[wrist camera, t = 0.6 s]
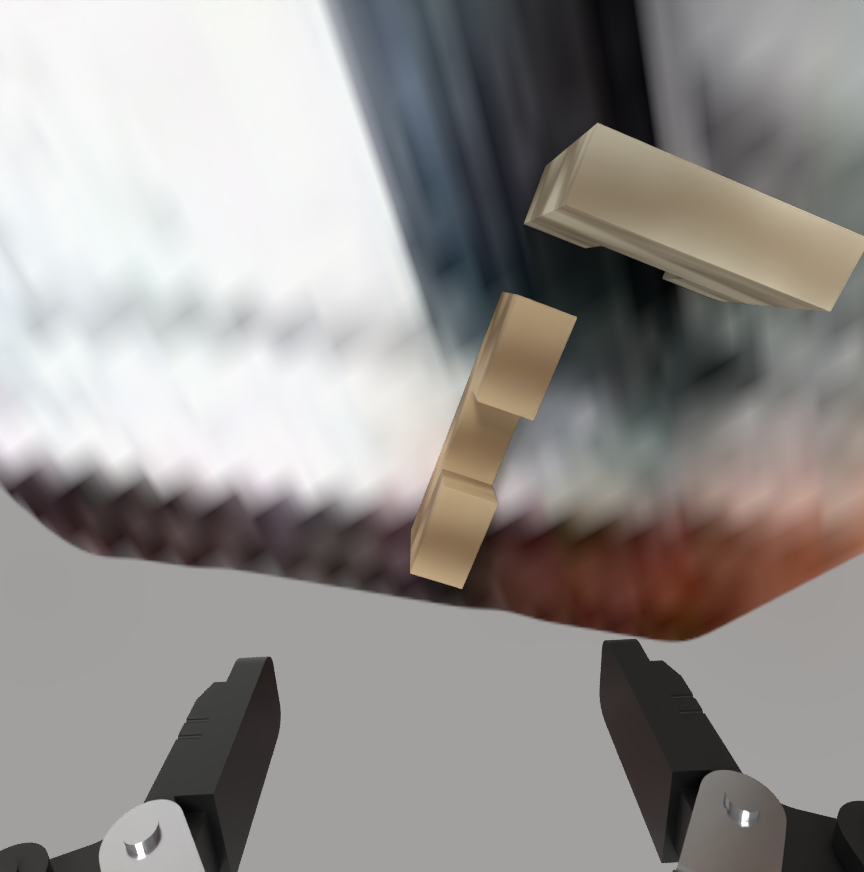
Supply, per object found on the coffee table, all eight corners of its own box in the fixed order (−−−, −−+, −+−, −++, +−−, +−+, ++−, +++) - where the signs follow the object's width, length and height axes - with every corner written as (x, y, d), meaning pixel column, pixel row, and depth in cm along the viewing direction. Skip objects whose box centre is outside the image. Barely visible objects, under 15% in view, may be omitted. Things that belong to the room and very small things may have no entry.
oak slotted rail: (502, 291, 35) (518, 295, 29) (551, 309, 36) (577, 317, 30) (411, 530, 40) (410, 573, 34) (455, 543, 40) (462, 588, 35)
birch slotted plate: (545, 166, 33) (597, 122, 24) (745, 248, 35) (869, 239, 25) (523, 223, 34) (565, 204, 24) (719, 301, 36) (830, 311, 26)
